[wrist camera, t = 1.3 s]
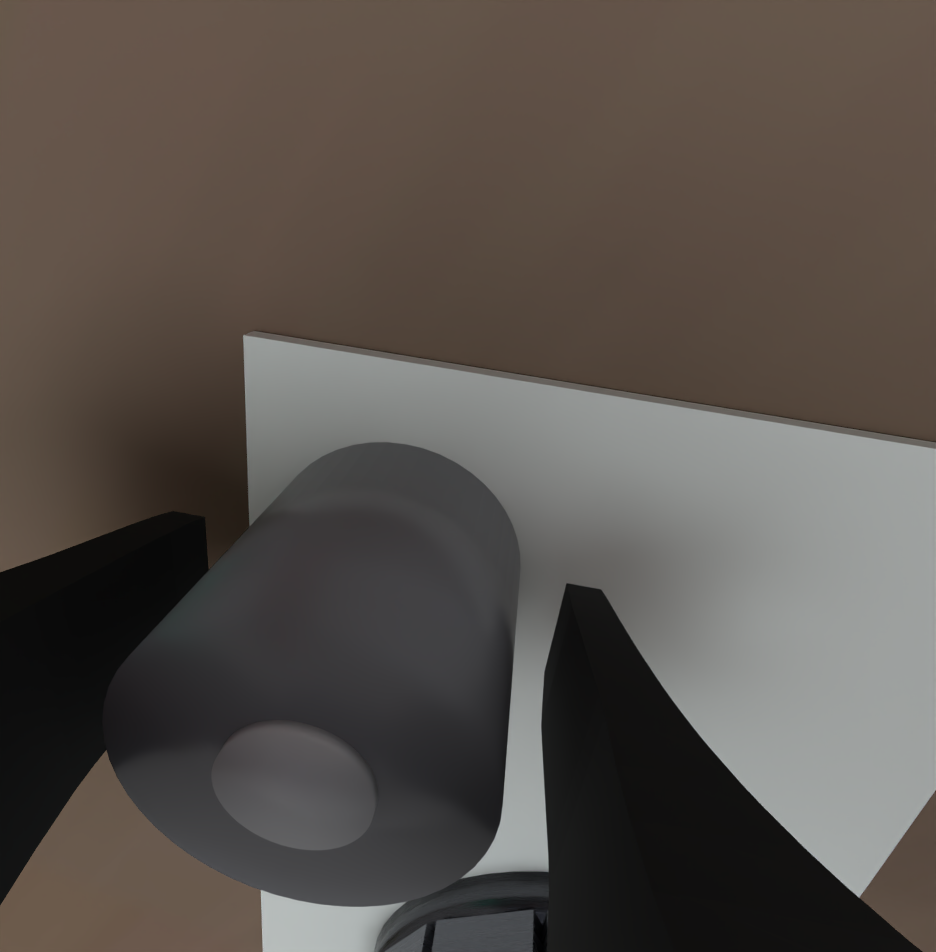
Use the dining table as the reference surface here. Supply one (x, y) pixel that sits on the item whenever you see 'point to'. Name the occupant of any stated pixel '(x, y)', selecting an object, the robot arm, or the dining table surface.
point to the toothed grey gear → (474, 917)
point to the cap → (335, 686)
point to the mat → (663, 582)
